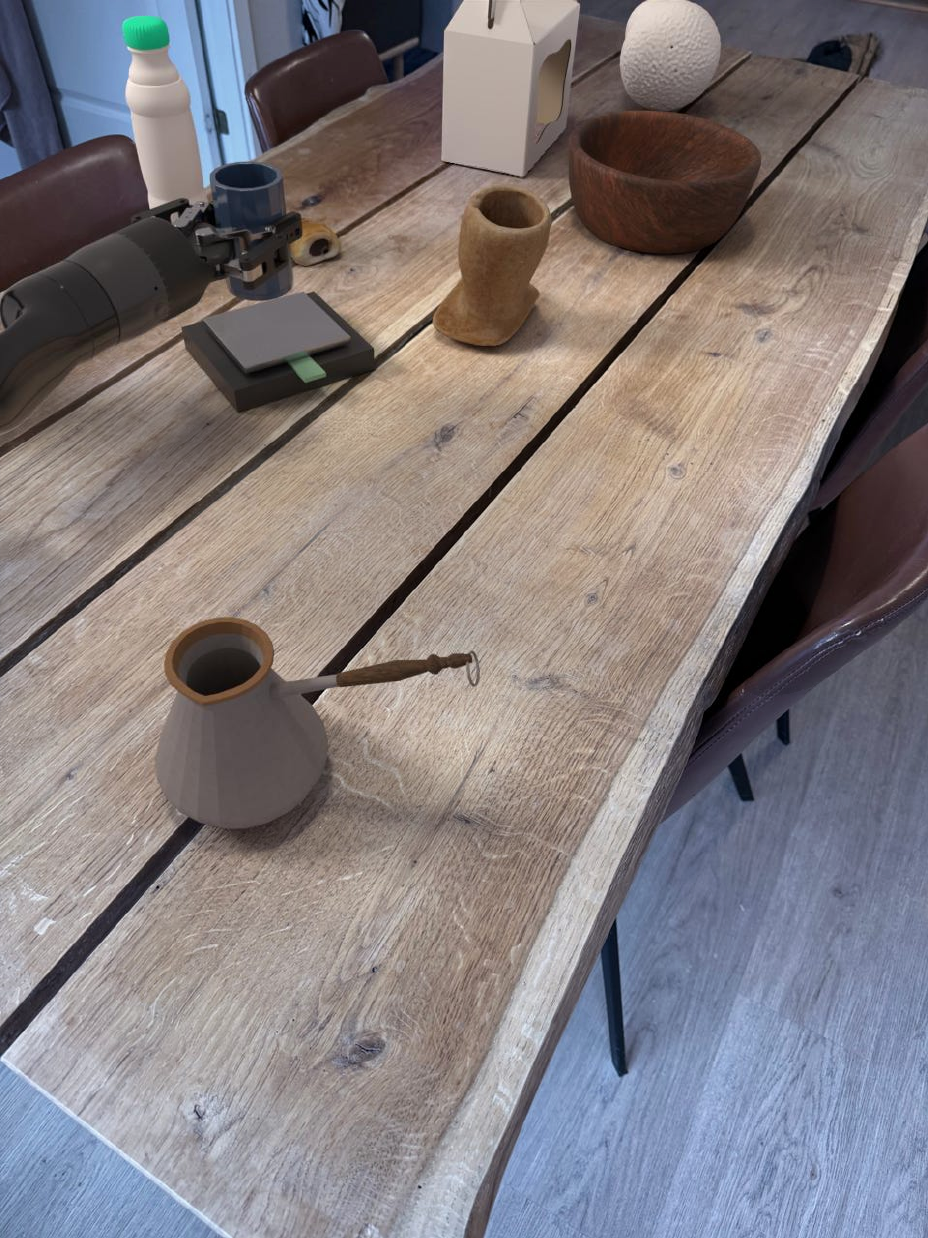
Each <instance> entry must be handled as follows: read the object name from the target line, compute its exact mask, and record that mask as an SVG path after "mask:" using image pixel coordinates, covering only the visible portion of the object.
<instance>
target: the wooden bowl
mask: <svg viewBox="0 0 928 1238" xmlns="http://www.w3.org/2000/svg"><path fill="white" fill-rule="evenodd" d="M569 137H570V138H569V140H568V151H567V153H568V155H567V157H568V159H567V161H568V163H567V165H568V183H569V192H570V197H571V201H572V204H573V208H574V210H575V213H576V215H577V217H578V219H579V221H580V222H581V224H582V225H583V226H584V227H585V229H586V230H588V231H589V232H590V233H591V234H593V235H594V236H595V237H596V238H599V239H600V240H602V241H604V242H606V243H608V244H611V245H613V246H616V247H619V248H623V249H626V250H629V251H634V252H641V253H648V254H657V255H658V254H660V255H661V254H662V255H675V254H685V253H691V252H696V251H700V250H702V249H705V248H708V247H709V246H711V245H712V244H715V243H716V242H717V241H719V240H720V239H721V238H722V237H723V236H724V235H725V234H727V232H728V231H729V230H730V228H731V227H732V226H733V225H734V224H735V222H736V221H737V219H738V218H739V216H740V214H741V213H742V211H743V209H744V207H745V205H746V203H747V201H748V199H749V197H750V194H751V192H752V190H753V187H754V185H755V183H756V180H757V177H758V175H759V172H760V169H761V166H762V154H761V151H760V150H759V148H758V147H757V145H756V144H755V143H754V142H753V141H752V140H751V139H750V138H749V137H747V136H746V135H744V134H743V133H741V132H739V131H737V130H735V129H734V128H731V127H729V126H727V125H724V124H723V123H719V122H716V121H713V120H710V119H707V118H702V117H698V116H694V115H689V114H686V113H685V114H684V113H679V112H672V111H662V112H661V111H654V110H626V111H616V112H610V113H605V114H602V115H597V116H594V117H592V118H589V119H587V120H585V121H583V122H582V123H580V124H579V125H578V126H576V127H575V128H574V129H573V130H572V132H571V134H570V136H569Z"/></svg>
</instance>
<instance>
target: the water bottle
mask: <svg viewBox="0 0 928 1238" xmlns="http://www.w3.org/2000/svg"><path fill="white" fill-rule="evenodd" d="M121 25H122V26H121V29H122V35H123V39H124V43H125V45H126V49H127V50H128V51H129V52H130V53H131V57H132V58H131V63H130V66H129V69H128V78H127V81H126V85H125V91H124V92H125V93H124V94H125V102H126V105H127V107H128V108H129V111H130V117H131V126H132V132H133V137H134V143H135V148H136V152H137V157H138V161H139V166H140V169H141V174H142V177H143V180H144V185H145V187H146V190H147V202H148V206H149V209H152V208H155V207H157V206H160V205H163V204H165V203H168V202H171V201H174V200H176V199H179V198H186V199H188V200H189V204H190V205H194V204H195V203H196V202H199V201H206V202H208V203H209V199H208V195H207V192H206V189H205V188H204V175H203V165H202V160H201V153H200V146H199V141H198V135H197V131H196V130H197V129H196V126H195V121H194V115H193V113H192V109H191V102H192V99H191V93H190V89H189V87H188V86H187V84H186V82H185V81H184V79H183V78H182V76H181V75H180V73H179V70H178V68H177V66H176V65H175V63H173V61H172V60H171V58H170V57H169V49H170V47H171V45H170V42H171V41H170V32H169V28H168V25H167V22H165V20H164V19H163V18H160V17H158V16H154V15H135V16H131V17H128V18H126V19H125V20H124V21H123V22H122V24H121ZM176 219H179V218H178V213H177V212H176V213H173V214H172V215H171V222H172V224H173V222H174V221H175V220H176Z"/></svg>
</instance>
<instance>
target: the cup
mask: <svg viewBox="0 0 928 1238" xmlns="http://www.w3.org/2000/svg"><path fill="white" fill-rule="evenodd" d="M209 186H210V191H211V198H212V201H213V205H214V211H215V217H216V223H217V228H223V227H229V226H234V225H239V224H243V225H245V226H246V227H247V228H254V227H259V226H264V225H267V224H268V223H270V222H272V221H274V220H276V219H278V218H280V217H282V216H283V215H285V214H287V204H286V196H285V186H284V176H283V171H282V170H281V169H280V168H278V167H277V166H276V165H272V164H270V163H266V162H262V161H261V162H260V161H248V160H247V161H236V162H235V161H234V162H231V163H225V164H222V165H220V166H218V167H216V168H214V169H213V170H212V171H211V172H210V173H209ZM233 239H234V243H235V250H236V258H235V259H238V258H239V257H240V256H241V248H240V241H239V237H238V238H233ZM262 242H263V238H259V239H255V240H253V242H252V246H253V248H255V247H256V246H258V245H259V244H260V243H262ZM287 246H288V256H289V265H288V266H287V267H285V268H284V269H282V270H281V271H280V272H278V273H277V274H276V275H274V276H273V277H271V278H270V279H269V280H267V281H266V282H264V283H263V284H262V285H260V286H259V287H257V288H256V289H254V290H245V289H243V286H242V279H239V278H236V277H233V276H229V277H227V278H226V279H225V283H226V288H227V290H228V292H229V293H230V294H231V295H232V296H234V297H236V298H239V299H241V300H244V301H245V300H246V301H252V302H266V301H269V300H273V299H277V298H281V297H284V296H286V295H287V294H288V293H290V292H291V290H292V289H293V287H294V273H293V264H292V257H291V253H290V244H289V245H287Z"/></svg>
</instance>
